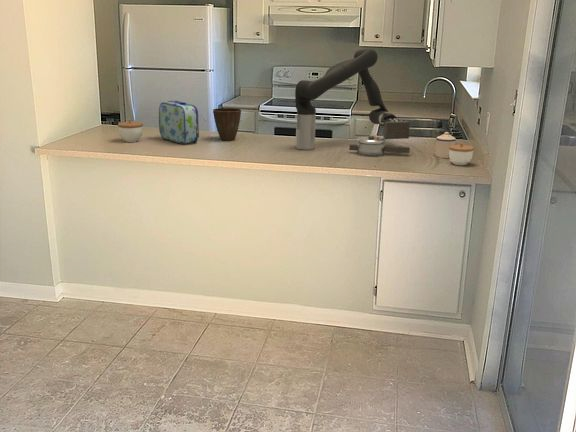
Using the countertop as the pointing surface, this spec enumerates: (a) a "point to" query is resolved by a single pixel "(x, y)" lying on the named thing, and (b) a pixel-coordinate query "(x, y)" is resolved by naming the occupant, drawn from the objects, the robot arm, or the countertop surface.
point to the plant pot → (227, 122)
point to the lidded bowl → (130, 131)
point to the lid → (389, 133)
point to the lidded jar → (460, 154)
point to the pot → (376, 149)
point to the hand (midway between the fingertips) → (398, 125)
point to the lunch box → (178, 122)
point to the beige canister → (444, 145)
